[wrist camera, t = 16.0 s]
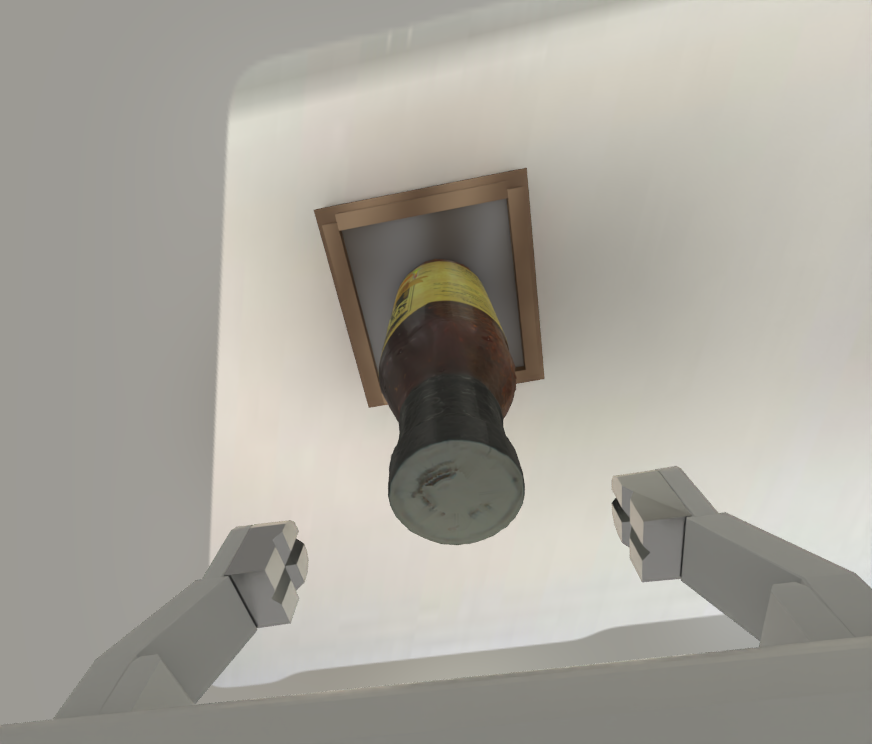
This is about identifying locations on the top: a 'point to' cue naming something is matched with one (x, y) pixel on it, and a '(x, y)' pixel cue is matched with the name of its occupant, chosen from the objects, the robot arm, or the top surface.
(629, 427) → the top surface
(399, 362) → the sauce bottle
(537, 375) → the tray
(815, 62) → the top surface
